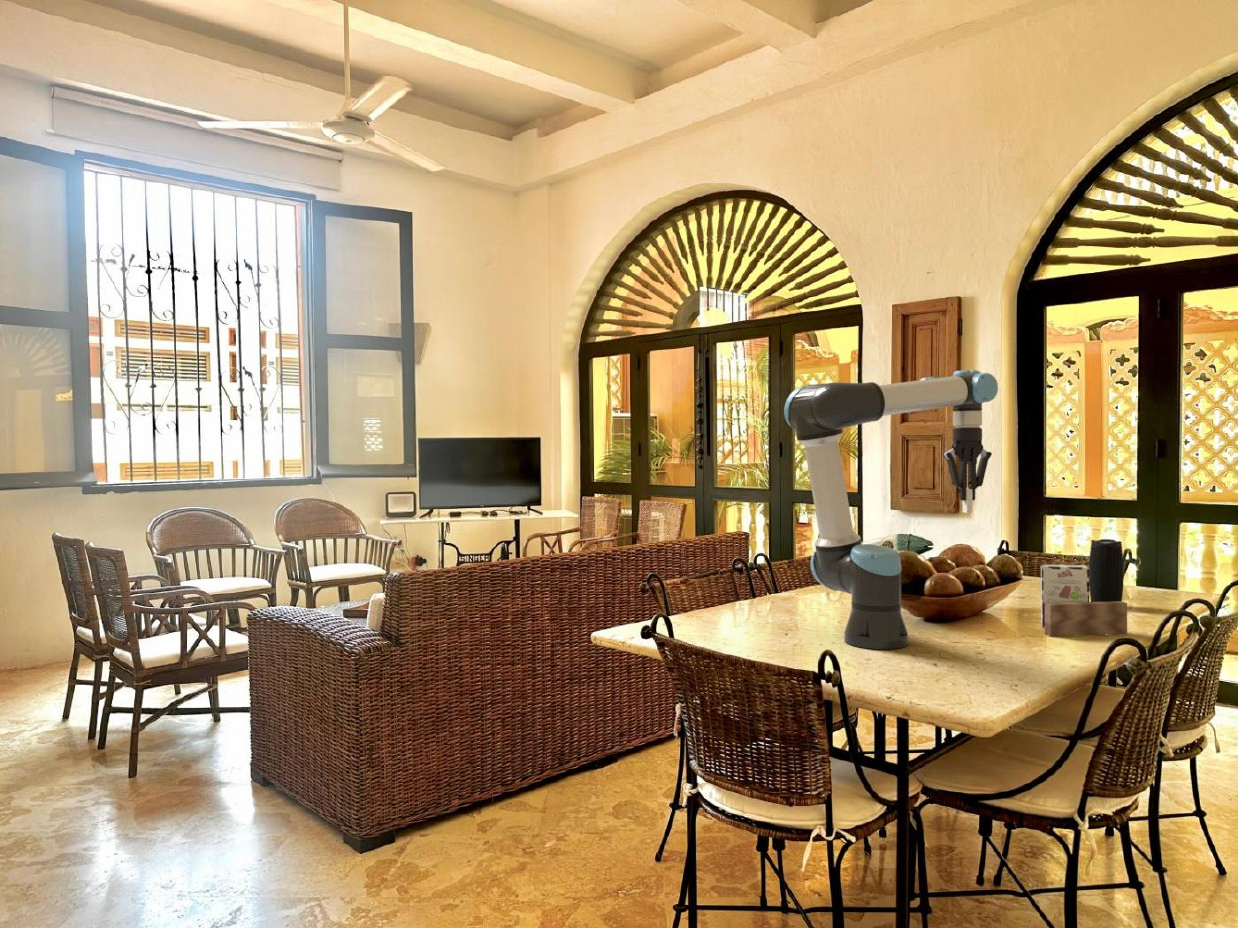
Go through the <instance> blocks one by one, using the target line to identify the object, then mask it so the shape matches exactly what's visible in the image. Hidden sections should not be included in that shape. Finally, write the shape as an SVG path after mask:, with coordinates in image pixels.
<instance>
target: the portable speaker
mask: <svg viewBox="0 0 1238 928" xmlns="http://www.w3.org/2000/svg"><path fill="white" fill-rule="evenodd" d="M1090 541H1091V543H1090V544H1091V545H1090V550H1089V551H1090V552H1089V560H1088V561H1089V562H1088V563H1089V564H1088V565H1089V566H1088V568H1089V600H1090V602H1112V601H1122V602H1123V594H1124V593H1123V592H1124V554H1123V546H1122V545H1123V544H1122V542H1123V541H1117V540H1115V539H1110V538H1109V539H1108V538H1101V539H1099V540H1098V539H1097V540H1095V539H1091V540H1090Z"/></svg>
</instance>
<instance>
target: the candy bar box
mask: <svg viewBox="0 0 1238 928" xmlns="http://www.w3.org/2000/svg"><path fill="white" fill-rule="evenodd" d="M1089 589H1090V588H1089V566H1088V565H1079V564H1078V565H1077V564H1047V563H1046V564H1040V608H1041V609H1040V610H1041V611H1040V612H1041V613H1040V617H1041V618H1040V620H1041V621H1040V622H1041V626H1042V627H1041V628H1043V629H1045V628H1044V627H1045V603H1069V602H1090V592H1089Z"/></svg>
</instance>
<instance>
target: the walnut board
mask: <svg viewBox="0 0 1238 928" xmlns="http://www.w3.org/2000/svg"><path fill="white" fill-rule="evenodd" d="M1106 634H1112V635H1111V636H1118V635H1117V634H1127V635H1128V602H1124V601H1123V600H1122V601H1112V602H1091V601H1089V602H1069V603H1045V628H1044V635H1045V636H1047V635H1049V636H1048V637H1050V636H1059V637H1076V636H1075V635H1098V636H1107V635H1106ZM1069 635H1070V636H1069Z"/></svg>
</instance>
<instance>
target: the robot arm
mask: <svg viewBox="0 0 1238 928" xmlns="http://www.w3.org/2000/svg"><path fill="white" fill-rule="evenodd" d="M998 390H999V383H998V381H997V379H996V377H995V376H994V375H992V374H991V373H989V372H981V371H980V370H978V369H977V370H976V369H973V370H971V369H970V370H968V369H967V370H956V371H954V372H953V374H952V375H950V376H949V375H948V376H938V377H936V376H929V377H922V378H920V379H918V380H912V381H911V380H910V381H905V382H904V381H903V382H897V383H896V382H895V383H890V384H889V383H888V384H878V383H877V382H828V383H818V384H816V383H815V384H808V385H803V386H801V387H798V388H796V389H795V390H793V391H792V392H791V393H790V394H789V395H788V397H787V398H786V401H785V404H784V409H783V410H784V411H783V413H784V414H783V415H784V419H785V421H786V423H787V424H788V426H790V427H791V428H792V429H794V431H795V435H796V441H797V442H798V443H799V444H800V445H802V446H803V447H804V452H805V458H806V463H807V470H808V475H809V481H810V488H811V492H812V500H813V505H814V510H815V517H816V523H817V528H818V534H819V537H818V538H817V539H816V540H815V542H814V547H815V550H813V554H812V556H811V558H810V570H811V573H812V575H813V577H814V579H815V580H816V582H818V583H819V584H820V585H821V586H823V587H825V588H828V589H829V590H833V591H837V592H842V593H846V594H850V595H851V611H850V613H849V617H848V620H847V623H846V625H845V630H844V635H843V636H844V637H843V640H844V642H845V643H846V644H848V645H851V646H854V647H859V648H863V649H872V650H895V649H901V648H906V647H908V646H909V641H910V639H909V637H910V636H909V632H908V629H907V627H906V624H905V620H904V618H903V614H902V605H901V604H902V564H901V563H902V562H901V556H900V553H899V551H897V550H895V549H893V548H891V547H890V546H888V547H887V546H885V545H877V544H868V543H865V544H863V543H862V538H861V536H860V535H859V534H858V533H856V532H855V531H854V528H853V523H852V522H853V521H852V516H851V509H850V503H849V499H848V492H847V487H846V486H847V485H846V480H845V474H844V468H843V462H842V457H841V452H840V451H841V449H840V444H839V440H840V438H841V437H842V435H843V434H844V432H843V429H846V428H847V429H848V428H850V427H855V426H859V425H861V424H866V423H872V422H879V420H881V419H882V418H883V417H885V416H890V415H891V416H892V415H898V414H904V413H905V414H906V413H907V414H908V413H912V412H913V413H914V412H919V411H920V412H921V411H927V410H935V409H941V408H948V407H952V426H954V428H953V429H952V445H951V449H949V450H948V451H947V452H943V454H942V456H943V457H944V459H945V460H946V463H947V466H948V470H949V474H950V478H951V480H950V481H951V484H952V486H953V487H956V488H958V489H959V501H962V513H966V514H972V513H973V501H975V500H976V490H977V489H978V488H979V487H982V486H983V483H984V480H985V475H986V471H987V466H988V463H989V460H990V458H991V457H992V455H993V453H992V452H991V451H987V450H986V449H984V445H983V443H982V442H983V428H982V427H981V426H982V425H983V403H988V402H991V401H993V400H994V399H995V398H996V397H997V395H998ZM979 456H980V458H979ZM955 457H956V459H957V461H956V460H955ZM978 458H979V461H978ZM956 462H957V464H958V468H957V464H956ZM977 463H978V464H977ZM977 465H978V466H977Z"/></svg>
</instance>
